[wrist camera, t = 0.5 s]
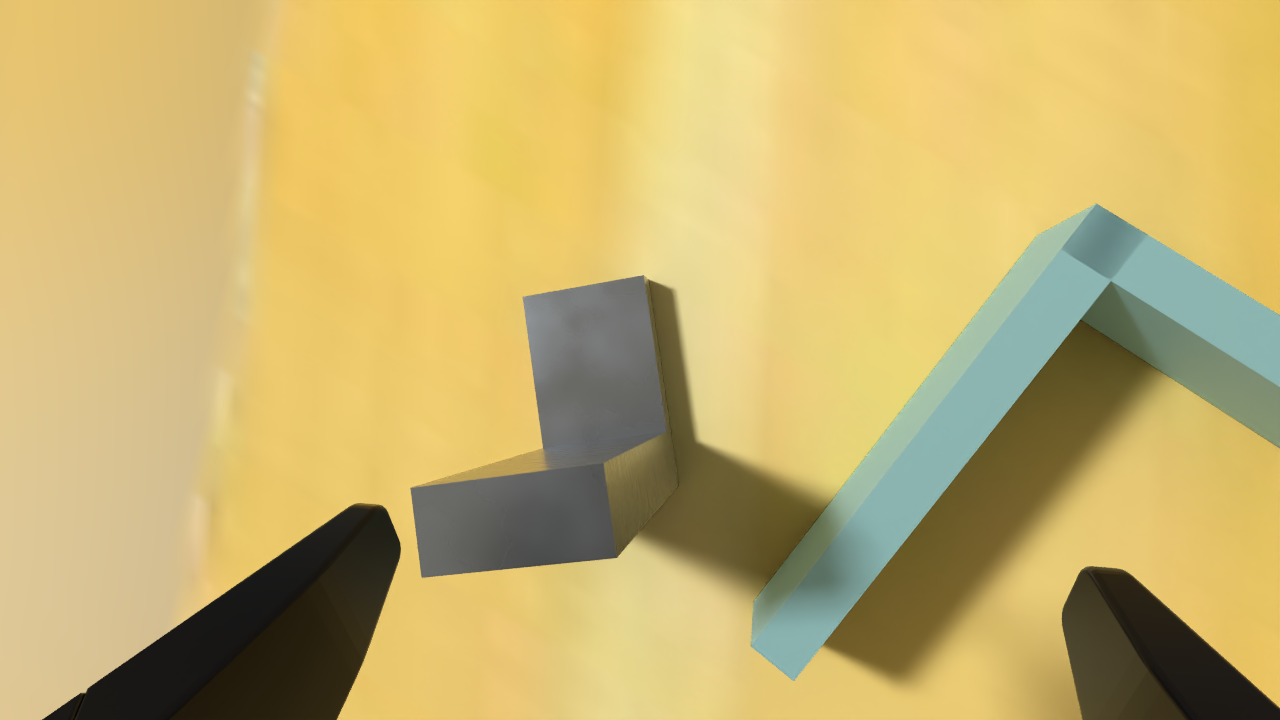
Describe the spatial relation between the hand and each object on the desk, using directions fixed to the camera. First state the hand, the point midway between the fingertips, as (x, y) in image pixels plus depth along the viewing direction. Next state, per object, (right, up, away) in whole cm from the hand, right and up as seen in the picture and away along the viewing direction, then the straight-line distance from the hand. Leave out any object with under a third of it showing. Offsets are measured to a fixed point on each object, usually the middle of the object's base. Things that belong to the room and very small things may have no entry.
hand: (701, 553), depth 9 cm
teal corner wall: (+12, -3, +13) cm, 18 cm away
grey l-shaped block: (-2, +1, +16) cm, 16 cm away
